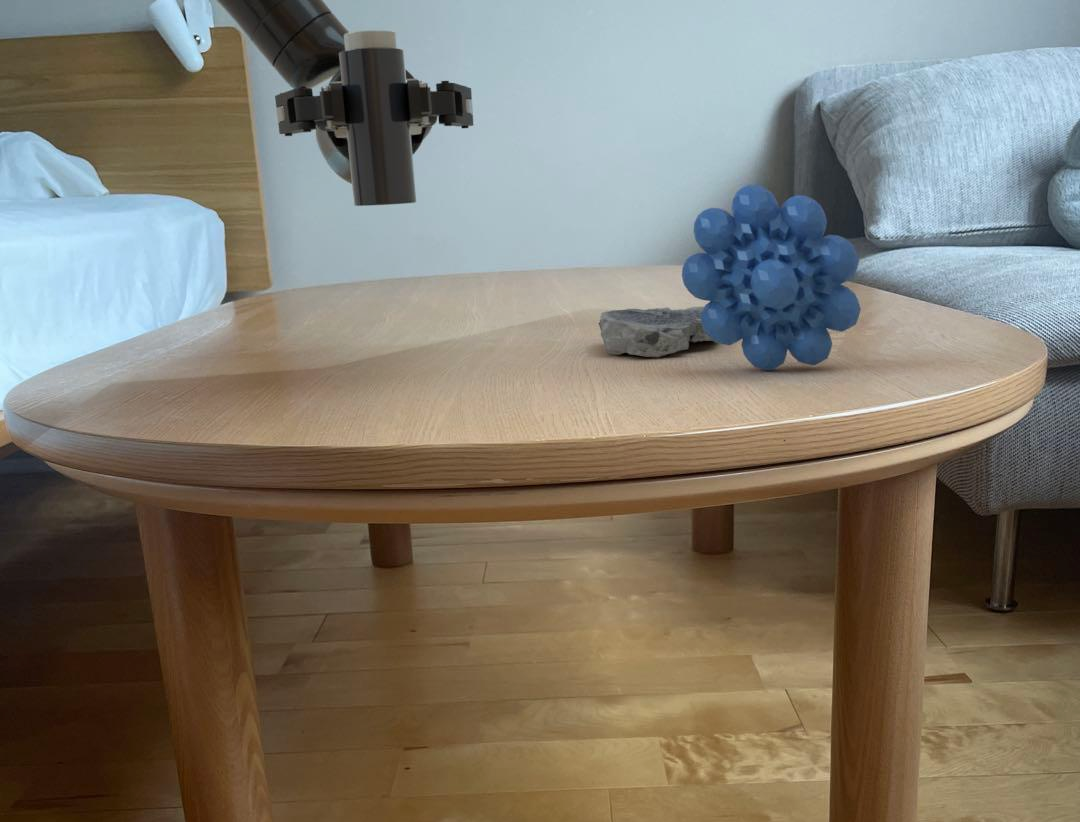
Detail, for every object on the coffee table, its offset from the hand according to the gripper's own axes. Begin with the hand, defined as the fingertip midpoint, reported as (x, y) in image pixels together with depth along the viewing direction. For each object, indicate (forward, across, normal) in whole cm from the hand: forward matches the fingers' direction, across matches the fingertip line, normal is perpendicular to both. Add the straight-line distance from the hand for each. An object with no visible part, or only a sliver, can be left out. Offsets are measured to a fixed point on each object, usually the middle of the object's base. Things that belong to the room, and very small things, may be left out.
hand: (376, 100), depth 63 cm
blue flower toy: (+2, +24, +18) cm, 30 cm away
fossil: (-12, +20, +18) cm, 30 cm away
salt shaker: (-3, 0, +6) cm, 7 cm away
